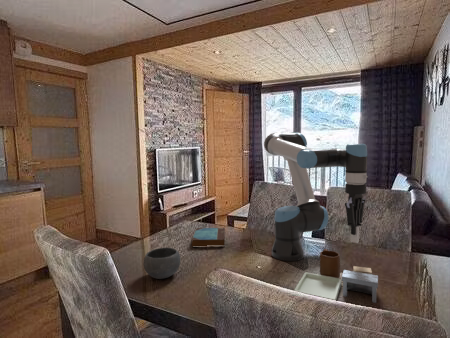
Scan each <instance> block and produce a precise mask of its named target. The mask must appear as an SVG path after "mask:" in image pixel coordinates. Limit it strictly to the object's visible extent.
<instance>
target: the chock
mask: <svg viewBox="0 0 450 338" xmlns="http://www.w3.org/2000/svg"><path fill="white" fill-rule="evenodd" d="M352 268H353V269H352V271H354V272H359V273H365V274H371V275H373V271H372V268H371V267H364V266H355V265H353V267H352Z"/></svg>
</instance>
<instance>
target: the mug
mask: <svg viewBox="0 0 450 338" xmlns="http://www.w3.org/2000/svg"><path fill="white" fill-rule="evenodd" d="M319 275H324V276H329V277H334V278H340V276H341V255H340V253H338V252H337V251H334V250H329V249H327V248H324V249H323V250H322V251H320V253H319ZM340 279H341V278H340Z"/></svg>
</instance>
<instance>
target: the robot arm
mask: <svg viewBox="0 0 450 338" xmlns="http://www.w3.org/2000/svg"><path fill="white" fill-rule="evenodd" d="M307 146H308V141H307V138H306V136H305V135H304V134H303V133H301V132H296V131H290V132H272V133H270V134H269V135H267V136H266V137H265V139H264V141H263V147H264V150H265V151H266V152H267V153H268V154H270V155H272V156H281V157H283V160H285V161H287V165H288V169H289V172H290V177H291V180H292V184H293V188H294V193H295V195H296V200H297V204H296V205H285V206H281V207H278V208H276V209H275V211H274V241H273V245H272V248H271V256H272V257H273V258H274V259H276V260H280V261H282V262H283V261H285V262H293V261H294V262H295V261H299V260H302V259H303V258H304V254H305V253H304V248H303V245H302V243H301V241H300V239H301V238H300V234H301V233H310V232H317V231H321V230H324V229H326V228H327V225H328V223H329V212H328V210H327V208H326V207H325V206H322V205H321V203H320V201H319V200H317V199H316V196H315V194H314V190H313V187H312V186H313V185H312V184H311V183H312V182H311V179H310V176H309V172H308V169H316V168H319V169H320V168H335V167H339V168H340V167H341V168H345V177H344V180H345V185H344V187H345V188H344V191H345V194H348V198H347V201H348V202H345V203H344V206H345V213H346V221H347V225H348V227H349V226H350V234H349V236H350V238H349V240H350V242H351V243H356V244H358V243H359V241H360V227H362V226H363V224H362V223H363V217H364V209H365V204H366V198H363V197H364V196H363V195H365V194H366V193H367V184H366V183H367V178H368V175H367V173H368V172H367V170H368V168H367V167H368V146H367V144H365V143H349V144H346V145H345V148H323V149H321V148H319V149H318V148H317V149H316V148H311V147H307Z"/></svg>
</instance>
